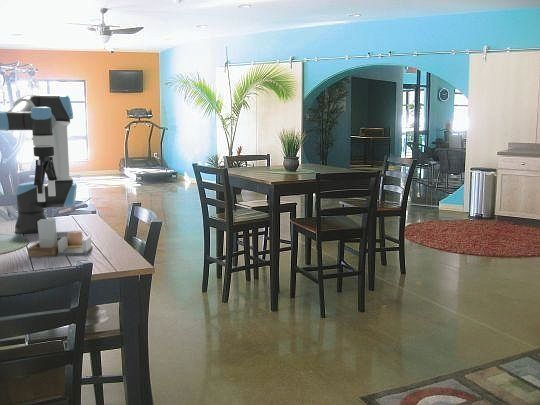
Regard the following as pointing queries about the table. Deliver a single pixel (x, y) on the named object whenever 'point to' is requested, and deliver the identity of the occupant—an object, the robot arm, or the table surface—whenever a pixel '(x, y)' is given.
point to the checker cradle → (74, 247)
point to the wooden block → (74, 238)
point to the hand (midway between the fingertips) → (47, 198)
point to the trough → (43, 250)
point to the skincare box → (47, 232)
